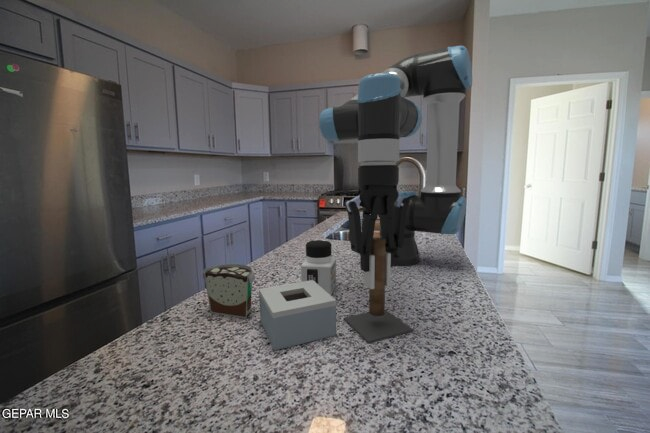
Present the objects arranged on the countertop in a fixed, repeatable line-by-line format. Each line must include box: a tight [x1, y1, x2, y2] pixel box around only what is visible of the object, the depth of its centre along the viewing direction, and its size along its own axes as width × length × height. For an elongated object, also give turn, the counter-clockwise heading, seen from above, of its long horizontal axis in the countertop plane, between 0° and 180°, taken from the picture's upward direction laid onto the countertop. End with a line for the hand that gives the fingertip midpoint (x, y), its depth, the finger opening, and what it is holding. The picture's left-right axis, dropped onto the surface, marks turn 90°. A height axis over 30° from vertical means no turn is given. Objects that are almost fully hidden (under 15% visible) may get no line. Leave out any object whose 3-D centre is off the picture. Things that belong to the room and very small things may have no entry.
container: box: [300, 239, 337, 296], centre depth 81 cm, size 8×8×13 cm
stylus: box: [368, 236, 386, 316], centre depth 61 cm, size 3×3×15 cm
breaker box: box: [258, 280, 337, 351], centre depth 62 cm, size 12×12×7 cm
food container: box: [201, 263, 256, 319], centre depth 70 cm, size 12×6×10 cm, turn 71°
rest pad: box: [343, 309, 414, 344], centre depth 63 cm, size 10×10×1 cm
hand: (376, 285), depth 61 cm, fingers closed on stylus, 3 cm apart
